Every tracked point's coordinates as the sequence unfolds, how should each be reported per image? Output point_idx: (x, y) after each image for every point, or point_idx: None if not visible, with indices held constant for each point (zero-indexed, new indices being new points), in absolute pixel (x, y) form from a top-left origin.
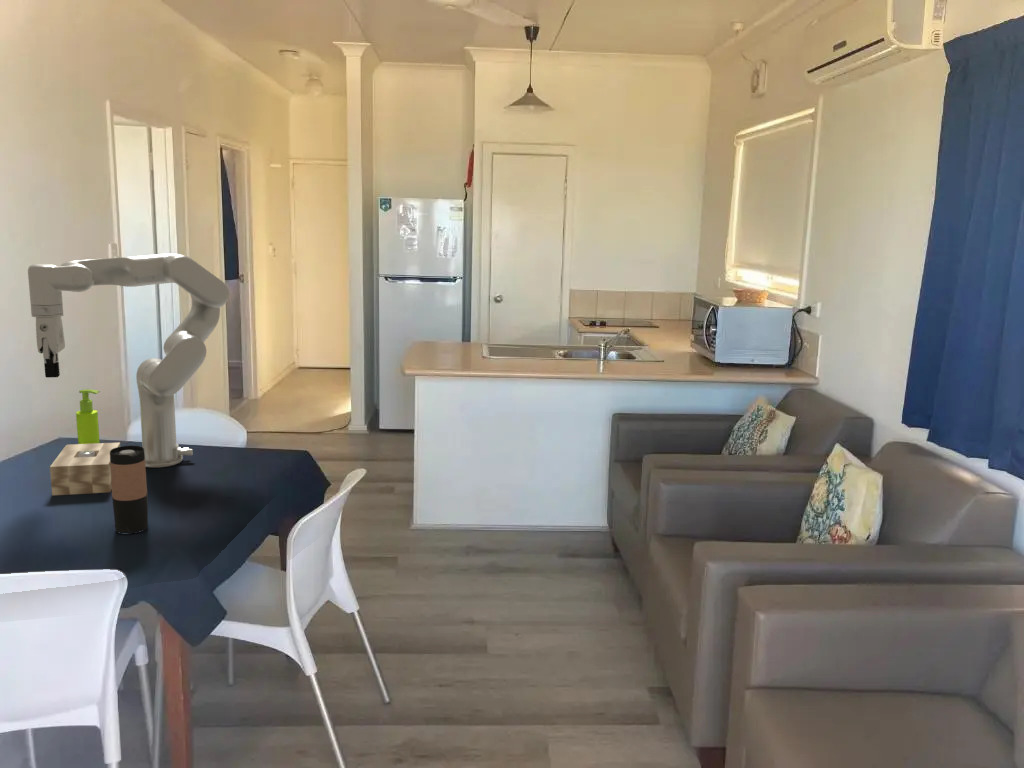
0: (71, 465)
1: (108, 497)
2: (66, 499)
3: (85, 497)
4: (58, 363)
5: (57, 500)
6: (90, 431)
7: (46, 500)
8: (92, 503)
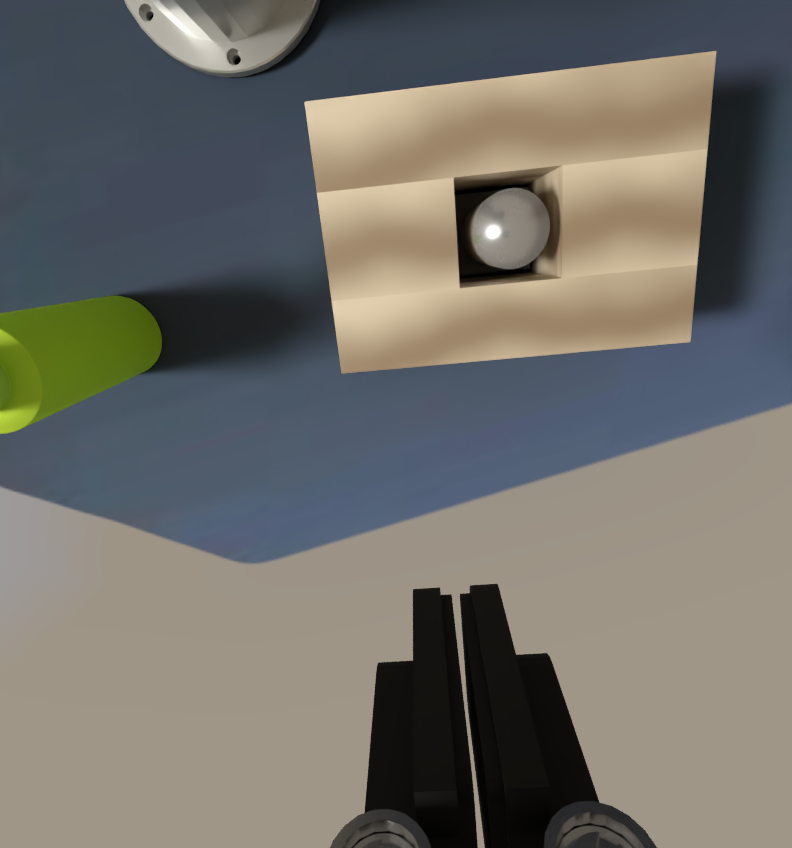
0: (693, 248)
1: None
2: None
3: None
4: (444, 760)
5: None
6: (92, 333)
7: None
8: (766, 136)
